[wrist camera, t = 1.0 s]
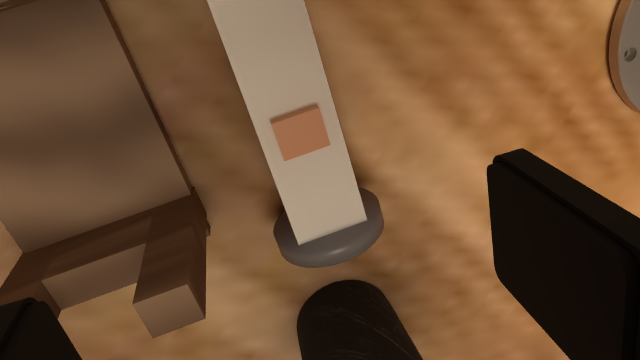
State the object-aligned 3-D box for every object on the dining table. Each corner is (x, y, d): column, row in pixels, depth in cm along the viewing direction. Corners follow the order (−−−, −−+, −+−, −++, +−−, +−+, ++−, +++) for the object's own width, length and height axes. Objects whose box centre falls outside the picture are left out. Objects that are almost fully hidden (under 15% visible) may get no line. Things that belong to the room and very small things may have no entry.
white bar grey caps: (129, -143, 22) (101, -178, 17) (261, -184, 23) (277, -232, 17) (274, 224, 32) (287, 282, 26) (366, 191, 32) (399, 241, 26)
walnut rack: (-153, -16, 22) (-397, -2, 13) (68, -85, 23) (-23, -116, 14) (53, 284, 30) (-12, 419, 21) (212, 226, 31) (214, 334, 22)
